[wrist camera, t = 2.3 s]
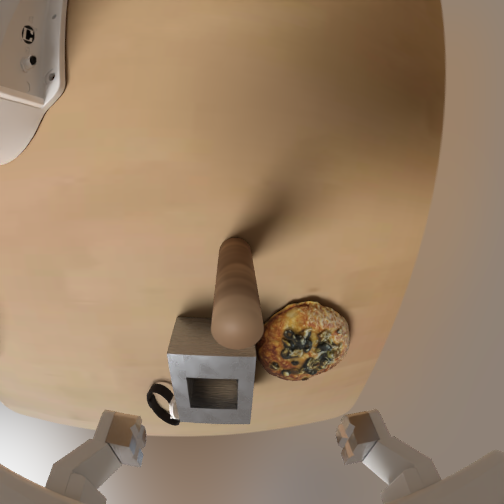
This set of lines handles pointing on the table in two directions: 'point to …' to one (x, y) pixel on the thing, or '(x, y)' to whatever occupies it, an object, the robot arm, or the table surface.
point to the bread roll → (303, 341)
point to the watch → (169, 418)
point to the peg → (236, 298)
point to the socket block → (209, 375)
